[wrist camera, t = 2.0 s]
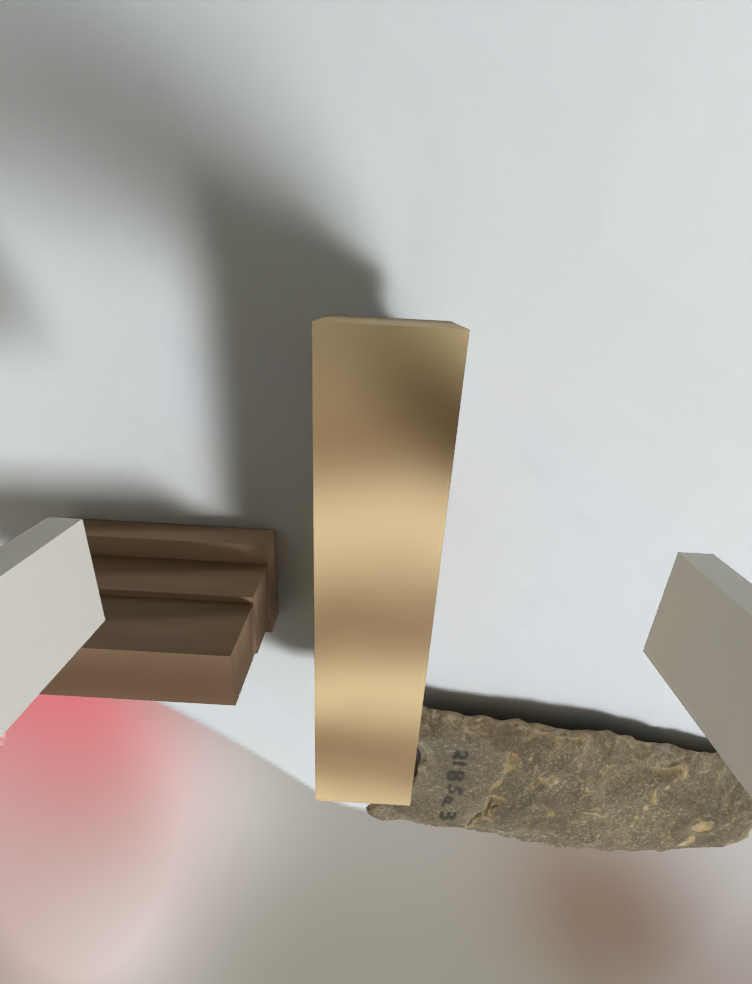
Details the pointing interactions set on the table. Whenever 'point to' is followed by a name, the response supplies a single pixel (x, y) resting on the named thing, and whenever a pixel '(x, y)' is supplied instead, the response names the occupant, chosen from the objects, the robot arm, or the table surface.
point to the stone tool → (570, 787)
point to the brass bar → (378, 540)
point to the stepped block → (174, 612)
